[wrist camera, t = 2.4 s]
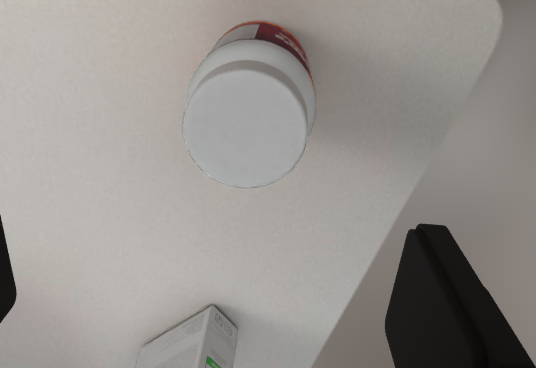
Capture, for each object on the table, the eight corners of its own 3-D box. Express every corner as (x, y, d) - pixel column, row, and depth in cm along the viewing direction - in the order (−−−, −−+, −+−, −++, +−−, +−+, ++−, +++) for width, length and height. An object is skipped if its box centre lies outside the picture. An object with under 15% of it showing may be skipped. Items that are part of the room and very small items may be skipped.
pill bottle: (326, 86, 29) (349, 156, 19) (245, 134, 31) (226, 223, 20) (274, -3, 27) (270, 22, 17) (190, 54, 28) (138, 109, 18)
